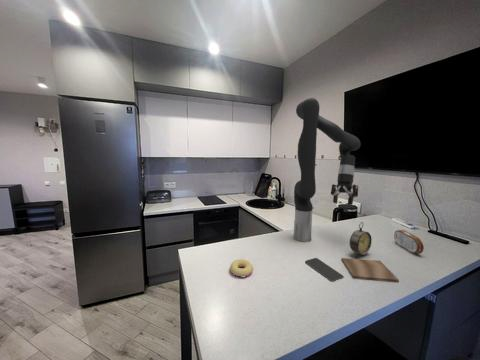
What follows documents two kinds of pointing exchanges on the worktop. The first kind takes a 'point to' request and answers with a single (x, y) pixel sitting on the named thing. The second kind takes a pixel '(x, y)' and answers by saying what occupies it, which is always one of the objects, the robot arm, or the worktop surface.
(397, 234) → the tin
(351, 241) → the alarm clock
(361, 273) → the walnut board
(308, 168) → the robot arm
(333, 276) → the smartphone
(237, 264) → the donut
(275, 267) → the worktop surface
